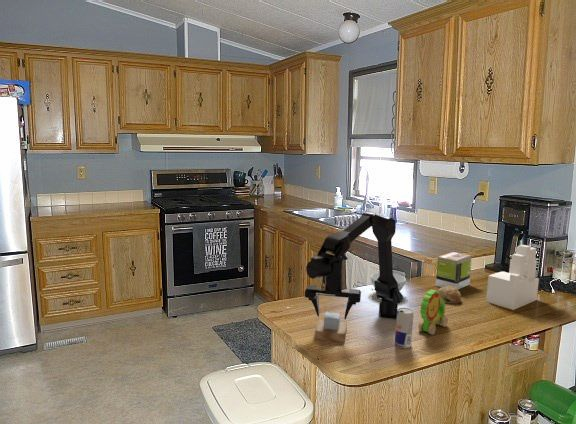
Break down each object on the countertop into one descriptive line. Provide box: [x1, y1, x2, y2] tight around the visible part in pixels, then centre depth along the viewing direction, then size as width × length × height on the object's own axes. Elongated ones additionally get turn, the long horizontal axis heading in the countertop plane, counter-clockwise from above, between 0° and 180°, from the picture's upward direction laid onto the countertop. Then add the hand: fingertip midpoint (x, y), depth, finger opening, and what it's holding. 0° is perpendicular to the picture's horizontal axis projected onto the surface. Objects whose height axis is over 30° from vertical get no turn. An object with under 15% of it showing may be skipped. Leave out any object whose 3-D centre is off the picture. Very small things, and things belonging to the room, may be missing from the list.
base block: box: [314, 319, 348, 343], centre depth 157 cm, size 10×10×3 cm
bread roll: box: [436, 286, 462, 304], centre depth 196 cm, size 10×10×8 cm
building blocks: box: [485, 244, 540, 311], centre depth 196 cm, size 22×12×25 cm, turn 128°
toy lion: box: [417, 289, 449, 336], centre depth 163 cm, size 16×5×15 cm, turn 137°
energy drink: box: [394, 307, 415, 349], centre depth 150 cm, size 5×5×12 cm
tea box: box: [435, 251, 472, 291], centre depth 216 cm, size 15×10×15 cm, turn 133°
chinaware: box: [370, 272, 407, 292], centre depth 201 cm, size 15×15×8 cm
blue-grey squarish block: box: [323, 311, 341, 330], centre depth 156 cm, size 5×5×4 cm
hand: (331, 317), depth 156 cm, fingers open, 9 cm apart
